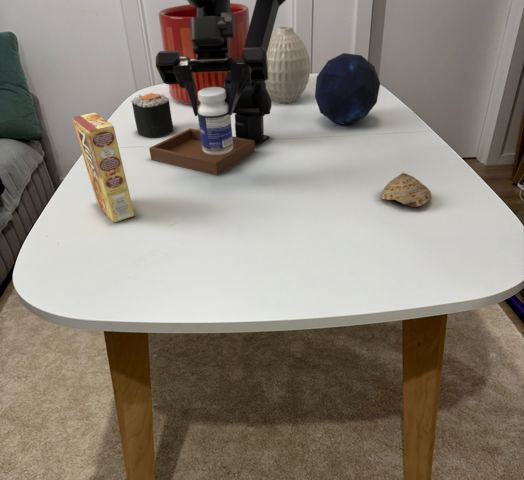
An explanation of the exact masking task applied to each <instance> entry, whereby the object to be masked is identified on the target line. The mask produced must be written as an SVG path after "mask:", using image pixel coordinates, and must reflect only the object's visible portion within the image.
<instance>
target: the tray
mask: <svg viewBox="0 0 524 480" xmlns="http://www.w3.org/2000/svg"><path fill="white" fill-rule="evenodd" d="M232 137H233V149H232V150H231V151H230V152H228V153H225V154H221V155H211V154H207V153H205V152H204V151H203V150H202V144H201V136H200V129H196V128H190V127H189V128H187V129H186V130H184V131H183V130H182V131H181V132H180V133H177V134H175V135H173V136H171V137H169V138H166V139H164V140H162V141H161V142H159V143H156V144H155V145H152V146H150V147H148V150H149V155H150V160H151V161H155V162H158V163H159V162H160V163H163V164H168V165H173V166H176V167H177V166H178V167H180V168H185V169H188V170H193V171H198V172H202V173H207V174H210V175H214V176H219V175H221V174H222V173H224V172H225V171H227V170H229V169H230V168H232V167H234V166H235V165H237V164H239V163H240V162H242V161H244V160H245V159H247V158H249V157H251V156H252V155H254V154H255V153H256V147H255V141H254V140H248V139H243V138H238V137H236V136H233V135H232Z"/></svg>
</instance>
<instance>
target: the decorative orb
mask: <svg viewBox="0 0 524 480" xmlns="http://www.w3.org/2000/svg"><path fill="white" fill-rule="evenodd" d="M380 87H381V82H380V78H379V76H378V74H377V70H376V68H375V66H374V65H373V63H371V62H370V61H369V60H367V59H366V58H365V57H364V56H363V55H360V54H354V53H346V52H344V53H341V54H338V55H337V56H334V57H333V58H331V59H329V60H327V62H326V63H325V64H324V66H323V67H322V69H321V70H320V71H319V73H318V74H317V76H316V81H315V89H314V98H315V101H316V104H317V108H318V110H319V113H320V114H321V115H322V116H324V117H325V118H327V119H328V120H330V121H331V122H332V123H334V124H339V125H346V126H351V125H353V124H355V123H358V122H359V121H361V120H363V119H365V118H366V117H367V115H368V114H369V113H370V112H371V110H372V109H373V108H374V107H375V105H377V103H378V97H379V92H380Z"/></svg>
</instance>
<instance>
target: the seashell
mask: <svg viewBox="0 0 524 480" xmlns="http://www.w3.org/2000/svg"><path fill="white" fill-rule="evenodd" d="M432 196H433V195H432V192H431V190H430V189H429V188H428V186H427V185H425V184H424V183H422V182H421V180H419V179H417V178H416V177H415V176H413V175H410V174H408V173H405V172H402V173H400V174H399V175H397V176H395V177H394V178H393V179H391V180H390V181H389V182H388V183H387V184H386V185H385V186H384V187H383V189H382V191H381V193H380V198H381V199H382V200H387V201H397V202H399V203H401V204H402V205H404V206H408V207H412V208H416V207H417V208H418V207H421V206H423V205H425V204H427V203H428V202H429V201H431V199H432V198H433V197H432Z"/></svg>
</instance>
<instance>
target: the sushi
mask: <svg viewBox="0 0 524 480" xmlns="http://www.w3.org/2000/svg"><path fill="white" fill-rule="evenodd" d="M130 102H131V105H132V110H133V116H134V121H135V126H136V130H137V134H138V135H139V136H142V137H145V138H148V139H156V138H162V137H165V136H167V135H170V134H172V133H173V132H174V124H173V118H172V111H171V105H170V104H171V103H170V99H169V97H167V96H166V95H165V94H163V93H161V94H160V93H153V92H149V93H147V94H146V93H145V94H144V95H141V94H138V95H137V96H135V97H133V98H131V100H130Z"/></svg>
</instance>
